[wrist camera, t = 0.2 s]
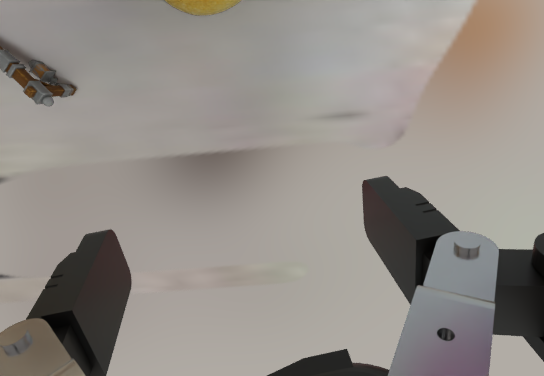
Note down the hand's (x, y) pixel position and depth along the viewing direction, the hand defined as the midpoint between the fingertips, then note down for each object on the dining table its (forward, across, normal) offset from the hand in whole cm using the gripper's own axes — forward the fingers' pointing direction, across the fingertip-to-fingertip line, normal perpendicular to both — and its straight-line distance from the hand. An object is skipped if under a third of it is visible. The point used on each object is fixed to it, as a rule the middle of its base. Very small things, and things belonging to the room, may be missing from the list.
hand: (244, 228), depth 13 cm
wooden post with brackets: (+22, +14, -5) cm, 27 cm away
